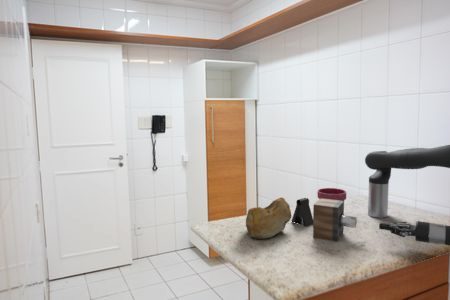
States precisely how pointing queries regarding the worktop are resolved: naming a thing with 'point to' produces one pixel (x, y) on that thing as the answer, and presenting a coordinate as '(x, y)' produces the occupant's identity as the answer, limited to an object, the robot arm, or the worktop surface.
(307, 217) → the phone stand
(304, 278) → the worktop surface
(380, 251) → the worktop surface
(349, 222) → the peg
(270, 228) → the rough brown rock
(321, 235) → the housing
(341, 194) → the plant pot
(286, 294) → the worktop surface
